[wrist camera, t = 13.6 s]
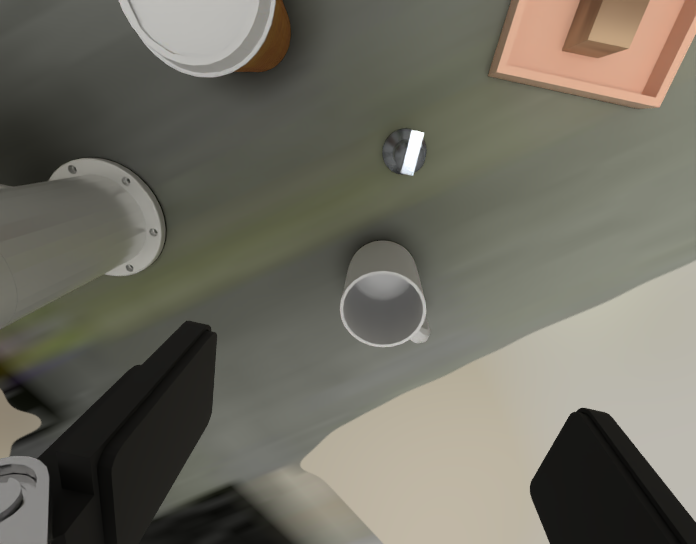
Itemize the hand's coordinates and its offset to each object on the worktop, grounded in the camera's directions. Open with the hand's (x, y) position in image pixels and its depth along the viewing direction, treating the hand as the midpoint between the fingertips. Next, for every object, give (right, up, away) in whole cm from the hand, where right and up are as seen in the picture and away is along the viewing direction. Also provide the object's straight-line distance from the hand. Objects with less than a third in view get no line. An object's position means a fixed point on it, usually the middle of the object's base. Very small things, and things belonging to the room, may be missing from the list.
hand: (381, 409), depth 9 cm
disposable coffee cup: (-9, +24, +22) cm, 34 cm away
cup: (+4, +3, +29) cm, 30 cm away
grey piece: (+4, +15, +24) cm, 29 cm away
